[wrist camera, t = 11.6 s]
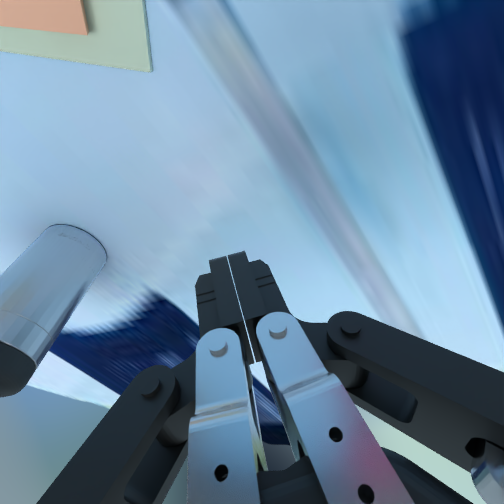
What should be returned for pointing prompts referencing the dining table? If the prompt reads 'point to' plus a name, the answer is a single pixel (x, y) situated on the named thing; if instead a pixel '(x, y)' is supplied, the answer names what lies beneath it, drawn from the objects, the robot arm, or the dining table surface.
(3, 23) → the domino
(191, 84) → the dining table surface
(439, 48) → the dining table surface
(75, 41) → the mat
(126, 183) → the dining table surface
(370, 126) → the dining table surface
